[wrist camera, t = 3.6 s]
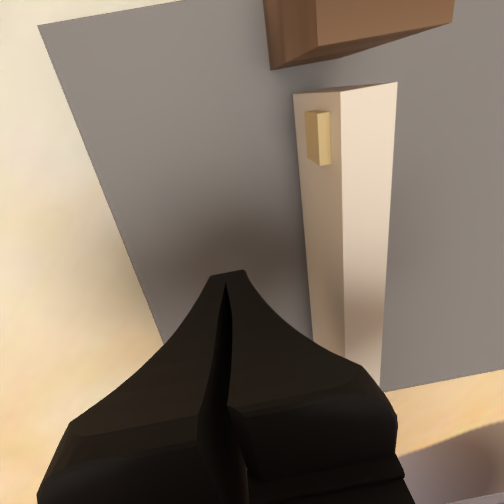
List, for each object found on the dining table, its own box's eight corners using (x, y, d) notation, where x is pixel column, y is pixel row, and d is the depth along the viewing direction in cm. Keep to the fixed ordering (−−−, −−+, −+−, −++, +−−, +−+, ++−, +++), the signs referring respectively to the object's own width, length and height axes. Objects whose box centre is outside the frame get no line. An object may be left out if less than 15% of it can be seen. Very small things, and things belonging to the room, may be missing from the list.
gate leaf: (341, 359, 16) (384, 451, 12) (309, 365, 16) (340, 459, 12) (334, 86, 10) (415, 78, 6) (283, 95, 10) (328, 94, 6)
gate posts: (346, 388, 18) (393, 497, 13) (306, 396, 18) (338, 507, 13) (339, -19, 9) (472, -147, 4) (262, -5, 9) (310, -120, 4)
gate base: (534, 348, 20) (549, 360, 19) (198, 413, 19) (197, 428, 18) (699, -81, 10) (744, -98, 9) (53, 31, 10) (37, 25, 9)
